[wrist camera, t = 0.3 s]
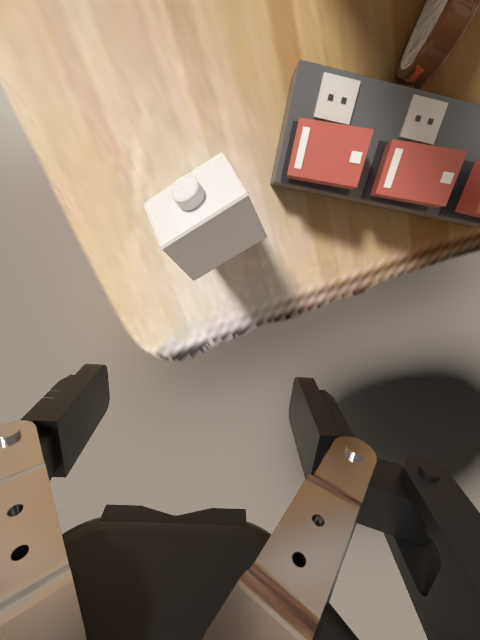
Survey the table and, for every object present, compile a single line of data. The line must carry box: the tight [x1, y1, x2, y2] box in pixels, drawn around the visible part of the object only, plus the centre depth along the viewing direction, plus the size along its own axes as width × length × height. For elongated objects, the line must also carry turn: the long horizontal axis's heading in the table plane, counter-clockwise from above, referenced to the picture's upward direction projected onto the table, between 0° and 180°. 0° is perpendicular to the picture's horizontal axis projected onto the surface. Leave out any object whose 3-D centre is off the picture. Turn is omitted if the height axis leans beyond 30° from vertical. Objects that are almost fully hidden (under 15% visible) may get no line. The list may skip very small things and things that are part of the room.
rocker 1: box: [287, 118, 374, 190], centre depth 30 cm, size 5×7×2 cm
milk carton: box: [144, 153, 267, 280], centre depth 28 cm, size 7×7×19 cm
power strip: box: [270, 60, 480, 228], centre depth 33 cm, size 11×28×5 cm, turn 79°
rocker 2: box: [370, 139, 467, 208], centre depth 30 cm, size 5×7×2 cm
